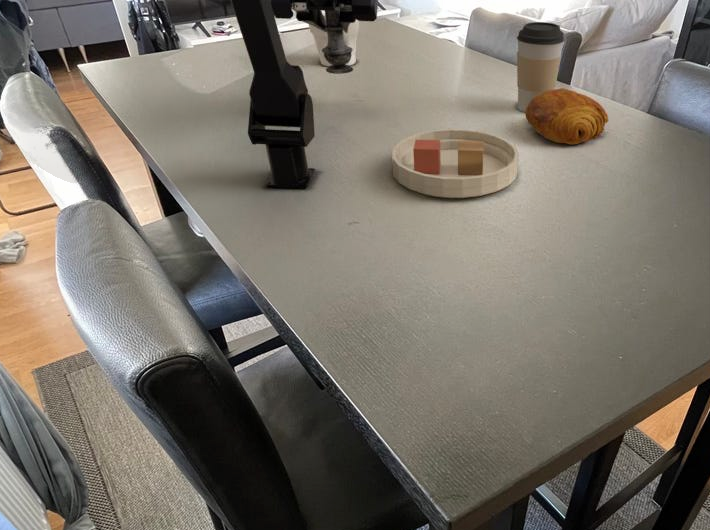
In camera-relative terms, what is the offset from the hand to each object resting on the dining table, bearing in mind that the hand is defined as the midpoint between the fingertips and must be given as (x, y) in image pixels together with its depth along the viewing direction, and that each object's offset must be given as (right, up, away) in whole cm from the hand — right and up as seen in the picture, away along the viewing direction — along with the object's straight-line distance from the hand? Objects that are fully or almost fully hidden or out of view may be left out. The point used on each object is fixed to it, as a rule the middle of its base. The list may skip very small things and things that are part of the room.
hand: (336, 30), depth 111 cm
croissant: (+43, -20, -1) cm, 48 cm away
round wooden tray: (+23, -33, -15) cm, 43 cm away
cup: (-6, +11, +31) cm, 34 cm away
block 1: (+18, -32, -16) cm, 40 cm away
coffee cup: (+39, -11, +9) cm, 41 cm away
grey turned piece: (0, -6, +4) cm, 7 cm away
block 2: (+25, -33, -16) cm, 44 cm away
